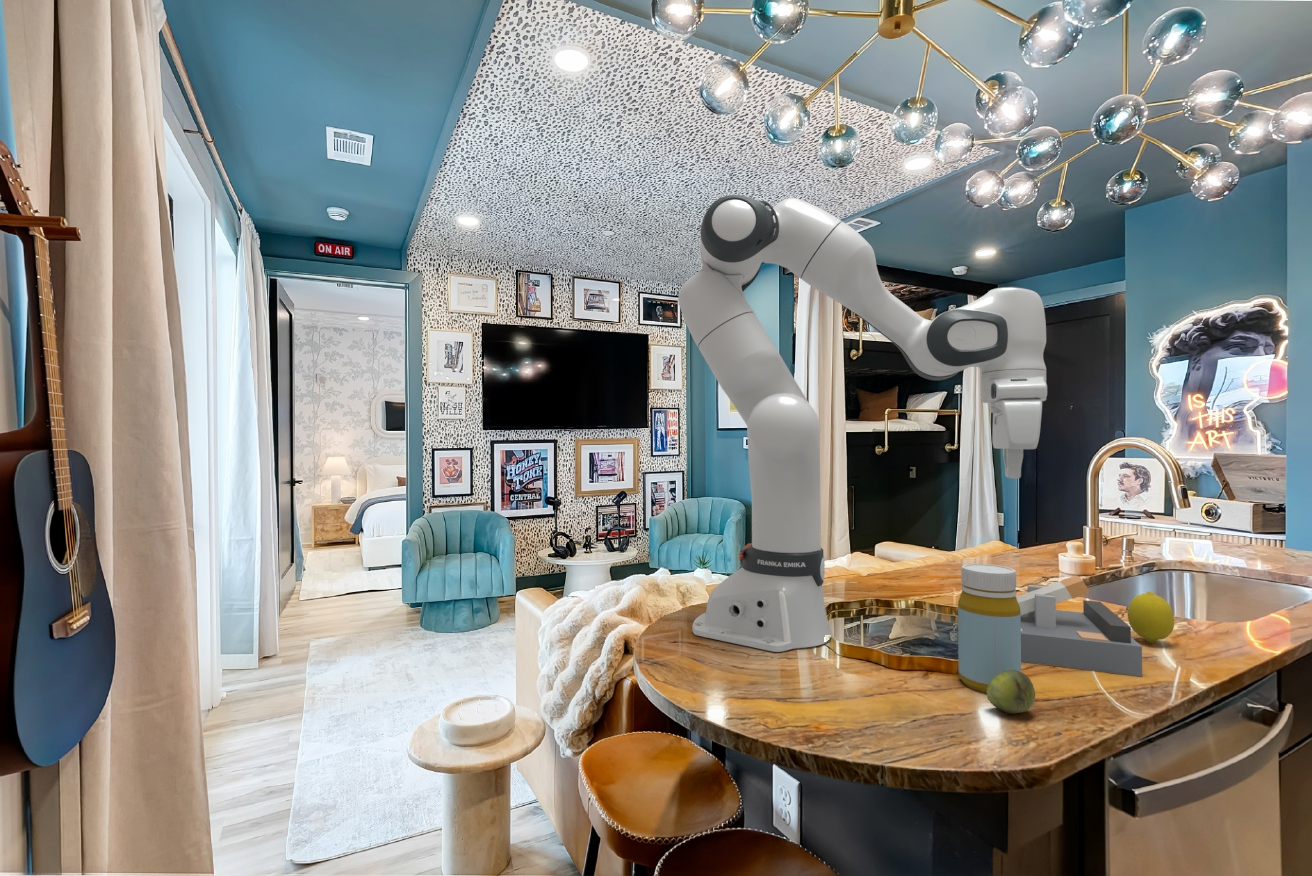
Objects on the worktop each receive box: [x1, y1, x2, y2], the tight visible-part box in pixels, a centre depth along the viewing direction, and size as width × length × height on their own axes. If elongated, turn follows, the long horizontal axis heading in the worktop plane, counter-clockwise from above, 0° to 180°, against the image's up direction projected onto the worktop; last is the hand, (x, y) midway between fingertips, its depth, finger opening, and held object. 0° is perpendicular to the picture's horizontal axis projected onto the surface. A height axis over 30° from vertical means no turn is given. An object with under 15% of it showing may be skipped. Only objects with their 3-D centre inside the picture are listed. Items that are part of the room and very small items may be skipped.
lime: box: [985, 670, 1036, 715], centre depth 68 cm, size 4×5×5 cm
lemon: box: [1127, 591, 1175, 644], centre depth 91 cm, size 6×6×8 cm
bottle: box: [957, 563, 1022, 694], centre depth 76 cm, size 7×7×15 cm
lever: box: [1016, 574, 1091, 615], centre depth 89 cm, size 12×4×2 cm, turn 67°
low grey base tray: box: [1021, 584, 1143, 677], centre depth 89 cm, size 20×16×9 cm
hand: (1012, 478), depth 93 cm, fingers closed
